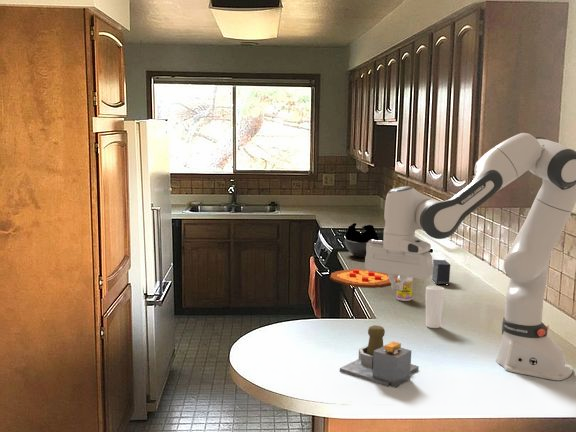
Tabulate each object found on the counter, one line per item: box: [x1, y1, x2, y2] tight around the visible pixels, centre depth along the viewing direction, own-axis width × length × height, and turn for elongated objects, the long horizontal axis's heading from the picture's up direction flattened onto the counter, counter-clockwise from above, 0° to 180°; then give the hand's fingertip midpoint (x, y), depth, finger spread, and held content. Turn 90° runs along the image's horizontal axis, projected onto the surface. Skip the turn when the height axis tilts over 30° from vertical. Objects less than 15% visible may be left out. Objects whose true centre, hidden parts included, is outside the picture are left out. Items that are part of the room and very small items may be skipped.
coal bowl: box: [344, 222, 380, 258], centre depth 360 cm, size 20×20×19 cm
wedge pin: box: [384, 340, 402, 354], centre depth 185 cm, size 3×5×9 cm, turn 140°
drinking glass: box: [424, 285, 445, 329], centre depth 236 cm, size 7×7×15 cm
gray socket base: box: [339, 345, 419, 388], centre depth 192 cm, size 20×18×9 cm
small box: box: [431, 259, 451, 285], centre depth 304 cm, size 11×6×10 cm, turn 0°
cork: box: [367, 324, 386, 356], centre depth 198 cm, size 6×6×11 cm
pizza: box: [330, 268, 398, 288], centre depth 309 cm, size 32×32×3 cm
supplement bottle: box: [396, 275, 414, 302], centre depth 273 cm, size 7×7×13 cm
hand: (396, 289), depth 183 cm, fingers closed
